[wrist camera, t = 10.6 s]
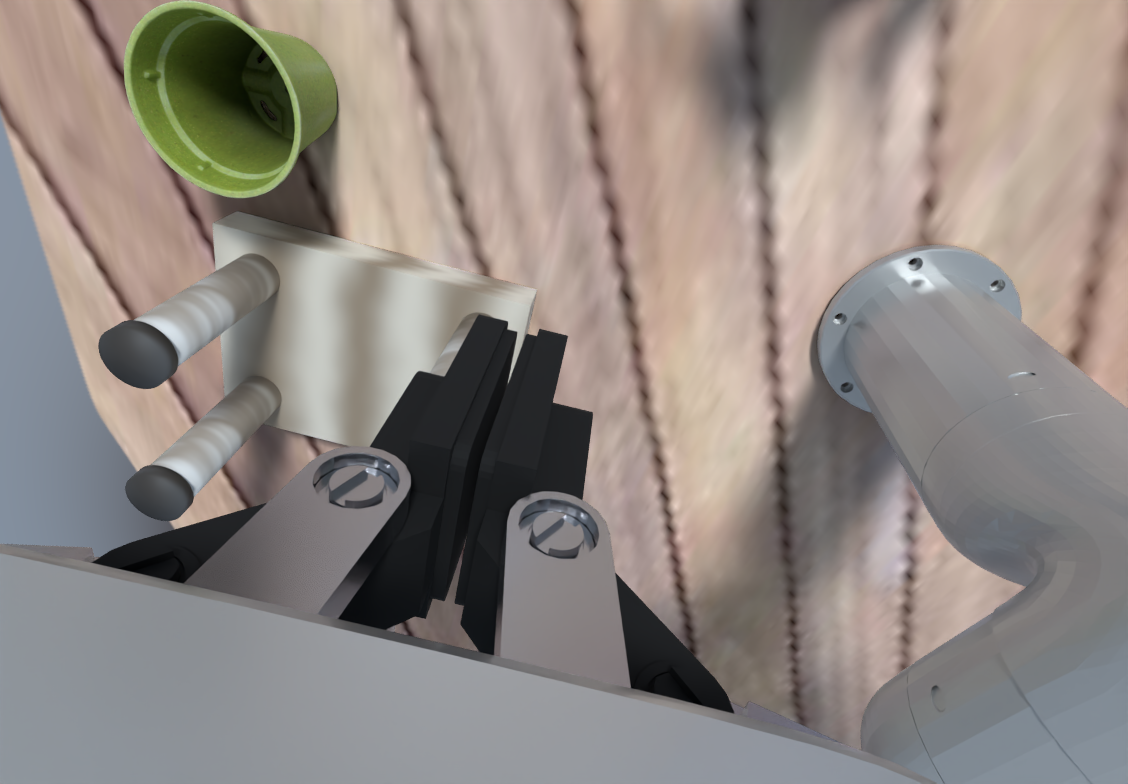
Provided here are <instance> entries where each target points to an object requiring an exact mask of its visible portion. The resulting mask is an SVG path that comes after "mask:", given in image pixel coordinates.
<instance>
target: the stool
mask: <svg viewBox="0 0 1128 784" xmlns="http://www.w3.org/2000/svg"><path fill="white" fill-rule="evenodd" d="M213 237H214V251H215V265H216V271H215V272H214V273H212V274H210V275H209V276H207V277H205V278H204V279H202V280H200V281H199V282H197V283H195V284H194V285H192V286H190V287H189V288H187V289H185V290H183V291H182V292H180V293H178V294H177V295H175V296H173V297H172V298H170V299H168V300H167V301H165V302H163V303H162V304H160V305H158V306H157V307H155V308H153V309H152V310H150V311H148V312H147V313H145V314H143V315H141V316H140V317H138V318H136V319H135V320H128V321H124V322H122V323H120V324H118V325H117V326H115V327H113V328H111V329H110V330H108V331H106V332H105V333H104V334H103V335H102V336H101V338H100V340H99V353H100V356H101V359H102V360H103V362H104V364H105V365H106V367H107V368H108V369H109V370H110V372H111V373H112V374H113V375H115V376H116V377H117V378H118V379H120V380H121V381H123V382H124V383H126V384H128V385H131V386H133V387H137V388H141V389H151V388H155V387H157V386H159V385H160V384H162V383H163V382H164V381H166V380H167V379H168V378H170V377H171V376H172V375H173V374H174V373H175V372H176V370H177V367H178V366H179V365H180V364H182V363H183V362H184V361H186V360H187V359H188V358H190V357H191V356H192V355H194V354H195V353H196V352H198V351H199V350H200V349H202V348H203V347H204V346H206V345H207V344H208V343H210V342H211V341H212V340H214V339H215V338H216V337H218V336H219V335H220V336H221V350H222V364H223V378H224V393H225V398H224V399H223V400H221V401H220V402H219V403H218V404H217V405H216V406H215V407H214V408H213V409H212V410H210V411H209V412H208V413H207V414H206V415H205V416H204V417H203V418H202V419H201V420H199V421H198V422H197V423H196V424H195V425H194V426H193V427H192V428H191V429H189V430H188V431H187V432H186V433H185V434H184V435H183V436H182V437H181V438H180V439H178V440H177V441H176V442H175V443H174V444H173V445H172V446H171V447H170V448H169V449H167V450H166V451H165V452H164V453H163V454H162V455H161V456H160V457H159V458H158V459H156V460H155V461H154V462H153V463H152V464H151V465H149V466H145V467H143V468H142V469H140V470H139V471H138V472H137V473H136V474H135V475H134V476H132V477H131V478H130V479H129V480H128V481H127V483H126V487H125V489H126V494H127V497H128V499H129V500H130V502H131V503H132V504H133V505H134V506H135V507H136V508H137V509H138V510H139V511H141V512H142V513H144V514H145V515H147V516H149V517H151V518H154V519H157V520H161V521H172V520H175V519H178V518H179V517H180V516H181V515H182V514H183V513H184V512H185V511H186V510H187V509H188V508H189V507H190V505H191V504H192V503H193V499H194V496H195V495H196V494H197V493H198V492H199V491H200V490H201V489H202V488H203V487H204V486H205V485H206V484H207V483H208V481H209V480H210V479H211V478H212V477H213V476H214V475H215V474H216V473H217V472H218V471H219V470H220V469H221V468H222V467H223V465H224V464H225V463H226V462H227V461H228V460H229V459H230V458H231V457H232V456H233V455H234V454H235V453H236V452H237V451H238V450H239V448H240V447H241V446H242V445H243V444H244V443H245V442H246V441H247V440H248V439H249V438H250V437H251V436H252V435H253V434H254V432H255V431H256V430H257V429H258V428H259V427H260V426H261V425H262V424H264V425H268V426H272V427H276V428H280V429H284V430H288V431H292V432H296V433H299V434H303V435H307V436H311V437H315V438H319V439H323V440H327V441H331V442H335V443H339V444H343V445H347V446H363V447H370V445H371V444H372V442H373V440H374V439H375V437H376V436H377V434H378V432H379V431H380V429H381V428H382V426H383V424H384V423H385V421H386V420H387V418H388V417H389V415H390V413H391V412H392V410H393V409H394V407H395V405H396V404H397V402H398V401H399V399H400V397H401V396H402V394H403V393H404V391H405V390H406V388H407V386H408V385H409V383H410V382H411V380H412V378H413V377H414V375H415V374H416V373H417V372H418V371H424V372H428V373H432V374H436V375H440V376H445V375H446V373H447V371H448V369H449V367H450V365H451V364H452V362H453V360H454V358H455V356H456V354H457V353H458V351H459V349H460V347H461V345H462V343H463V342H464V340H465V338H466V336H467V334H468V332H469V331H470V329H471V327H472V325H473V323H474V321H475V320H476V318H477V316H478V315H479V314H480V315H484V316H488V317H492V318H496V319H501V320H505V321H508V329H509V330H513V331H517V339H516V345H515V350H514V355H513V360H512V365H511V370H510V375H509V380H510V377H511V374H512V372H513V369H514V366H515V363H516V361H517V358H518V355H519V352H520V350H521V347H522V344H523V341H524V339H525V336H526V334H527V333H528V329H529V324H530V320H531V315H532V311H533V306H534V302H535V297H536V293H537V289H533V288H529V287H526V286H522V285H518V284H514V283H510V282H506V281H503V280H499V279H495V278H491V277H487V276H483V275H480V274H476V273H472V272H468V271H464V270H461V269H457V268H453V267H449V266H445V265H441V264H438V263H434V262H430V261H426V260H422V259H418V258H415V257H411V256H407V255H403V254H399V253H396V252H392V251H388V250H384V249H380V248H376V247H373V246H369V245H365V244H361V243H357V242H353V241H350V240H346V239H342V238H338V237H334V236H330V235H327V234H323V233H319V232H315V231H311V230H308V229H304V228H300V227H296V226H292V225H288V224H285V223H281V222H277V221H273V220H269V219H265V218H262V217H258V216H254V215H250V214H246V213H242V212H239V211H237V212H235V213H232V214H230V215H228V216H226V217H224V218H222V219H220V220H218V221H216V222H214V223H213ZM509 380H508V383H509Z"/></svg>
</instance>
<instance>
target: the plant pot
mask: <svg viewBox="0 0 1128 784" xmlns="http://www.w3.org/2000/svg"><path fill="white" fill-rule="evenodd" d="M263 50H264V51H265V52H266V53H267V54H268V56H267V57H266V58H265V59H264V60H263V61H262V63H261V64H260V63H258V60H257V58H258V57H259V56H260V55H261V54H262V51H263ZM124 77H125V87H126V92H127V96H128V100H129V104H130V106H131V109H132V112H133V114H134V116H135V119H136V121H137V123H138V125H139V127H140V129H141V130H142V132H143V134H144V136H145V137H146V139H147V140H148V142H149V143H150V145H151V146H152V147H153V148H154V149H155V151H156V152H157V153H158V154H159V155H160V157H161V158H162V159H163V160H164V161H165V162H166V163H167V164H168V165H169V166H170V167H171V168H172V169H173V170H175V171H176V172H177V173H178V174H180V175H181V176H182V177H184V178H185V179H187V180H188V181H189V182H191V183H193V184H195V185H197V186H198V187H200V188H203V189H204V190H207V191H209V192H212V193H215V194H219V195H222V196H225V197H232V198H250V197H256V196H259V195H262V194H265V193H267V192H269V191H271V190H272V189H274V188H276V187H277V186H278V185H280V184H281V183H282V182H283V181H284V180H285V179H286V178H287V177H288V175H289V174H290V172H291V171H292V169H293V168H294V166H295V164H296V161H297V159H298V156H299V153H300V152H301V151H303V150H304V149H305V148H306V147H307V146H308V145H310V144H311V143H312V142H313V141H315V140H316V139H317V138H319V137H320V136H321V135H322V134H323V133H325V132H326V131H327V130H328V129H329V127H330V126H331V124H332V123H333V121H334V119H335V116H336V113H337V90H336V83H335V79H334V77H333V74H332V72H331V70H330V68H329V66H328V65H327V63H326V62H325V60H324V59H323V57H322V56H321V55H320V54H319V53H318V52H317V51H316V50H315V49H314V48H313V47H312V46H310V45H309V44H308V43H306V42H304V41H303V40H301V39H298V38H296V37H293V36H290V35H287V34H283V33H278V32H273V31H269V30H264V29H260V28H256V27H251V26H250V25H248V24H247V23H246V22H244V21H243V20H241V19H240V18H238V17H237V16H235V15H233V14H231V13H230V12H228V11H226V10H224V9H221V8H219V7H216V6H213V5H210V4H206V3H202V2H196V1H174V2H169V3H166V4H163V5H160V6H158V7H156V8H154V9H153V10H151V11H150V12H148V13H147V14H146V15H145V16H144V17H143V18H142V19H141V20H140V22H139V23H138V24H137V25H136V27H135V28H134V30H133V32H132V33H131V36H130V39H129V41H128V44H127V47H126V51H125V57H124ZM286 87H287V90H288V92H289V94H288V93H287V92H286ZM261 101H264V102H265V104H266V105H267V107H268V108H269V110H270V111H271V112H272V113H273V114H274V115H275V116H276V117H277V120H276V121H274V120H272V119H271V118H270V117H269V116H268V115H267V114H266V112H265V111H264V110H263V108H262V106H261Z"/></svg>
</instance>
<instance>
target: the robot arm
mask: <svg viewBox="0 0 1128 784" xmlns="http://www.w3.org/2000/svg"><path fill="white" fill-rule="evenodd" d="M913 258H914V261H913V262H911V263H909V262H910V260H911V259H913ZM839 313H840V315H839V316H838V317H835V316H836V315H837V314H839ZM1021 317H1022V309H1021V304H1020V298H1019V294H1018V292H1017V290H1016V288H1015V286H1014V284H1013V282H1012V280H1011V279H1010V278H1009V277H1008V276H1007V275H1006V273H1005V272H1004V271H1003V270H1002V269H1001V268H1000V267H999V266H997V265H996V264H995V263H993V262H992V261H990V260H989V259H988V258H986V257H984V256H982V255H980V254H978V253H976V252H974V251H972V250H968V249H964V248H960V247H957V246H947V245H928V246H918V247H913V248H909V249H905V250H902V251H898V252H895V253H892V254H890V255H888V256H886V257H883V258H881V259H879V260H877V261H875V262H873V263H872V264H870V265H869V266H867V267H866V268H864V269H863V270H861V271H859V272H858V273H857V274H856V275H855V276H854V277H853V278H851V279H850V280H849V281H848V282H847V283H846V284H845V285H844V286H843V287H842V288H841V289H840V291H839V292H838V293H837V294H836V296H835V297H834V298H833V299H832V301H831V303H830V305H829V306H828V308H827V310H826V312H825V314H824V316H823V319H822V322H821V325H820V328H819V333H818V342H817V349H818V357H819V362H820V365H821V367H822V370H823V373H824V375H825V377H826V378H827V380H828V382H829V384H830V386H831V387H832V388H833V389H834V391H835V392H836V393H837V394H838V395H839V396H840V397H841V398H843V399H844V400H846V401H847V402H848V403H850V404H851V405H853V406H855V407H857V408H859V409H861V410H864V411H866V412H870V413H873V415H874V416H875V418H876V420H877V422H878V423H879V425H880V427H881V429H882V431H883V432H884V434H885V436H886V438H887V439H888V441H889V443H890V445H891V446H892V448H893V450H894V452H895V453H896V455H897V457H898V459H899V461H900V462H901V464H902V466H903V468H904V469H905V471H906V473H907V475H908V476H909V478H910V480H911V482H912V484H913V485H914V487H915V489H916V491H917V492H918V494H919V496H920V498H921V499H922V501H923V503H924V505H925V506H926V508H927V510H928V512H929V513H930V515H931V517H932V518H933V520H934V522H935V524H936V525H937V527H938V528H939V530H940V531H941V532H942V534H943V535H944V537H945V538H946V539H947V540H948V541H949V543H950V544H951V545H952V546H953V547H954V548H955V549H956V550H957V551H958V552H960V553H961V554H962V555H963V556H965V557H966V558H967V559H969V560H970V561H972V562H973V563H975V564H976V565H978V566H979V567H981V568H983V569H985V570H987V571H989V572H991V573H993V574H995V575H997V576H999V577H1002V578H1004V579H1006V580H1009V581H1011V582H1014V583H1017V584H1020V585H1023V586H1026V588H1025V589H1023V590H1022V591H1021V592H1019V593H1018V594H1016V595H1015V596H1013V597H1012V598H1011V599H1009V600H1008V601H1006V602H1005V603H1003V604H1002V605H1000V606H999V607H997V608H996V609H995V610H994V612H993V613H991V614H990V615H988V616H987V617H985V618H983V619H982V620H980V621H979V622H977V623H976V624H974V625H972V626H971V627H969V628H968V629H966V630H965V631H963V632H961V633H960V634H958V635H957V636H955V637H954V638H952V639H950V640H949V641H947V642H946V643H944V644H943V645H941V646H939V647H938V648H936V649H935V650H933V651H932V652H930V653H928V654H927V655H925V656H924V657H922V658H921V659H919V660H917V661H916V662H915V663H914V664H912V665H911V666H909V667H908V668H906V669H904V670H903V671H901V672H900V673H899V674H897V675H896V676H895V677H893V678H892V679H891V680H889V681H888V682H887V683H885V684H884V685H883V686H882V687H881V688H880V689H879V690H878V691H877V692H876V693H875V695H874V696H873V697H872V699H871V700H870V701H869V703H868V705H867V707H866V709H865V712H864V714H863V718H862V723H861V730H860V732H861V748H862V750H859V749H856V748H853V747H851V746H848V745H845V744H842V743H840V742H838V741H835V740H833V739H831V738H829V737H827V736H825V735H822V734H820V733H818V732H816V731H814V730H811V729H809V728H807V727H805V726H803V725H800V724H798V723H796V722H794V721H792V720H789V719H787V718H785V717H783V716H781V715H778V714H776V713H774V712H772V711H770V710H768V709H765V708H763V707H761V706H759V705H757V704H754V703H752V702H750V701H749V702H748V703H747V705H746V706H745V708H742V707H740V706H738V705H736V704H734V703H731V702H730V701H729V698H728V696H727V694H726V692H725V691H724V690H723V688H722V687H721V686H720V684H719V683H718V682H717V680H716V679H715V678H714V677H713V676H712V675H711V674H710V673H709V671H708V670H707V669H706V668H705V667H704V666H703V665H702V664H701V663H700V662H699V661H698V660H697V659H696V658H695V657H694V656H693V655H692V653H691V652H690V651H689V650H688V649H687V648H686V647H685V646H684V645H683V644H682V643H681V642H680V641H679V640H678V639H677V638H676V637H675V635H674V634H673V633H672V632H671V631H670V630H669V629H668V628H667V627H666V626H665V625H664V624H663V623H662V622H661V621H660V620H659V619H658V617H657V616H656V615H655V614H654V613H653V612H652V611H651V610H650V609H649V608H648V607H647V606H646V605H645V604H644V603H643V602H642V600H641V599H640V598H639V597H638V596H637V595H636V594H635V593H634V592H633V591H632V590H631V589H630V588H629V587H628V586H627V585H626V584H625V582H624V581H623V580H622V579H621V578H620V577H619V576H618V575H617V574H616V573H615V568H614V560H613V553H612V546H611V538H610V533H609V530H608V527H607V524H606V521H605V520H604V519H603V517H602V516H601V515H600V513H599V512H598V511H597V510H596V509H594V508H593V507H592V506H591V505H589V504H588V503H587V502H585V501H583V500H582V499H583V491H584V483H585V475H586V467H587V459H588V451H589V443H590V435H591V427H592V419H593V413H592V412H589V411H585V410H581V409H577V408H573V407H569V406H564V405H560V404H556V403H553V398H554V394H555V390H556V385H557V381H558V377H559V373H560V368H561V364H562V360H563V355H564V351H565V347H566V342H567V338H568V336H566V335H562V334H558V333H554V332H550V331H546V330H542V329H539V332H538V335H537V336H534V335H529V334H526V336H525V339H524V341H523V344H522V347H521V350H520V352H519V355H518V358H517V361H516V363H515V366H514V369H513V372H512V374H511V377H510V380H509V375H510V370H511V365H512V360H513V355H514V350H515V345H516V339H517V331H513V330H509V329H508V321H505V320H501V319H496V318H492V317H488V316H484V315H480V314H479V315H478V316H477V318H476V320H475V321H474V323H473V325H472V327H471V329H470V331H469V332H468V334H467V336H466V338H465V340H464V342H463V343H462V345H461V347H460V349H459V351H458V353H457V354H456V356H455V358H454V360H453V362H452V364H451V365H450V367H449V369H448V371H447V373H446V375H445V376H440V375H436V374H432V373H428V372H424V371H418V372H417V373H416V374H415V375H414V377H413V378H412V380H411V382H410V383H409V385H408V386H407V388H406V390H405V391H404V393H403V394H402V396H401V397H400V399H399V401H398V402H397V404H396V405H395V407H394V409H393V410H392V412H391V413H390V415H389V417H388V418H387V420H386V421H385V423H384V424H383V426H382V428H381V429H380V431H379V432H378V434H377V436H376V437H375V439H374V440H373V442H372V444H371V445H370V447H363V446H349V447H343V448H337V449H334V450H331V451H328V452H326V453H323V454H321V455H319V456H318V457H317V458H315V459H314V460H312V461H311V462H310V463H308V464H307V465H306V466H305V467H304V468H303V469H302V470H301V471H300V472H299V473H298V474H297V475H296V476H295V477H294V478H293V479H292V480H291V481H290V482H289V483H288V484H287V485H286V486H285V487H283V488H282V489H281V490H280V491H279V492H278V493H277V494H276V495H275V496H274V497H273V498H272V499H271V500H270V501H269V502H268V503H265V504H261V505H258V506H255V507H251V508H248V509H244V510H241V511H237V512H234V513H230V514H227V515H224V516H220V517H217V518H213V519H210V520H206V521H203V522H199V523H196V524H193V525H189V526H186V527H182V528H179V529H175V530H172V531H168V532H165V533H162V534H158V535H155V536H151V537H148V538H144V539H141V540H137V541H135V542H131V543H129V544H126V545H123V546H121V547H118V548H116V549H114V550H111V551H109V552H108V553H106V554H105V555H103V556H101V557H94V554H93V551H92V548H87V547H64V546H40V545H17V544H0V784H1128V408H1127V407H1126V406H1124V405H1123V404H1122V403H1120V402H1119V401H1118V400H1116V399H1115V398H1114V397H1113V396H1112V395H1110V394H1109V393H1108V392H1107V391H1105V390H1104V389H1103V388H1102V387H1101V386H1099V385H1098V384H1097V383H1096V382H1094V381H1093V380H1092V379H1091V378H1090V377H1088V376H1087V375H1086V374H1085V373H1084V372H1082V371H1081V370H1080V369H1079V368H1077V367H1076V366H1075V365H1074V364H1073V363H1071V362H1070V361H1069V360H1068V359H1066V358H1065V357H1064V356H1063V355H1062V354H1060V353H1059V352H1058V351H1057V350H1055V349H1054V348H1053V347H1052V346H1051V345H1049V344H1048V343H1047V342H1046V341H1044V340H1043V339H1042V338H1041V337H1040V336H1038V335H1037V334H1036V333H1035V332H1033V331H1032V330H1031V329H1030V328H1029V327H1027V326H1026V325H1025V324H1024V323H1023V322H1021ZM508 380H509V383H508ZM843 383H844V384H843ZM466 537H467V538H466ZM465 540H466V543H465ZM464 543H465V549H464V554H463V559H462V565H461V570H460V576H459V581H458V587H457V592H456V598H455V604H459V605H463V606H464V609H463V614H462V619H461V626H462V627H463V629H464V630H465V631H466V633H467V634H468V636H469V637H470V639H471V640H472V642H473V643H474V644H475V646H476V647H477V649H478V652H477V651H472V650H468V649H464V648H459V647H455V646H451V645H447V644H442V643H438V642H434V641H430V640H425V639H421V638H417V637H412V636H408V635H404V634H400V633H395V625H397V624H399V623H401V622H404V621H406V620H408V619H410V618H412V617H415V616H416V617H420V618H424V619H426V616H427V613H428V610H429V608H430V605H431V602H432V599H438V600H442V601H445V599H446V596H447V593H448V590H449V587H450V584H451V581H452V578H453V575H454V573H455V570H456V567H457V564H458V561H459V558H460V555H461V552H462V549H463V546H464Z"/></svg>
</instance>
